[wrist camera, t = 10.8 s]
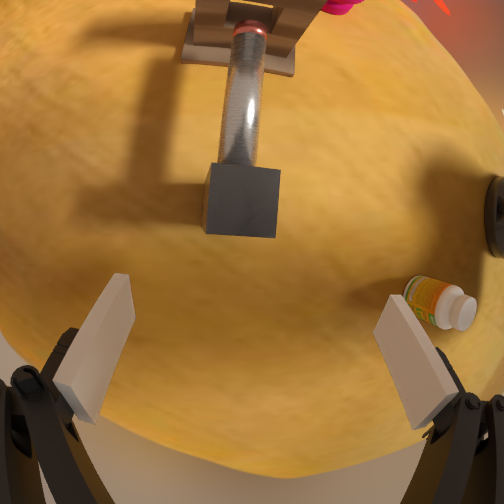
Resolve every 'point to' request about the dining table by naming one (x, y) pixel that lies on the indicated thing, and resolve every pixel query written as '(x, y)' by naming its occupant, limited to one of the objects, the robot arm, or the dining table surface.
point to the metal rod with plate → (242, 147)
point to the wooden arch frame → (230, 13)
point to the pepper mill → (339, 6)
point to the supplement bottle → (440, 303)
